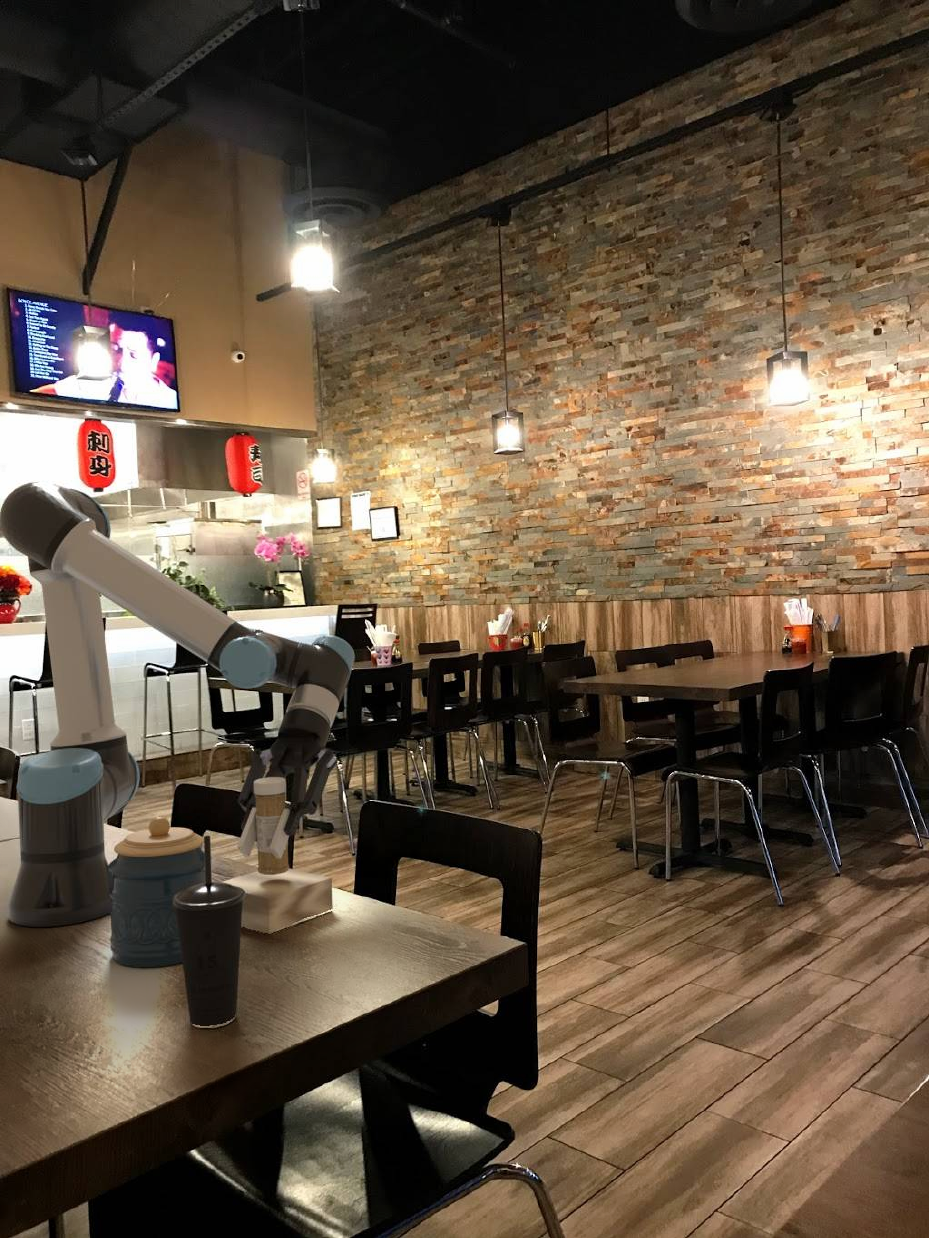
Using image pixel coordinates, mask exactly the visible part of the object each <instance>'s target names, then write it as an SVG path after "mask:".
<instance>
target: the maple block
mask: <svg viewBox="0 0 929 1238" xmlns="http://www.w3.org/2000/svg"><path fill="white" fill-rule="evenodd" d="M222 882H223V883H228V884H231V885H233V886H237V887H240V888H242V889H243V890H244V891H245V898H244V899H243V902H242V920H241V928H243V927H245V928H244V929H246V928H247V930H250V929H251V930H250V931H253V930H256V931H255V932H257V931H260V932H259V933H261V932H264V933H268V934H270V933H273V932H274V931H276V930H278V929H281V928H283V927H287V926H290V925H292V924H293V923H295V922H298V921H300V920H302V919H304V918H307V917H311V916H314V915H318V914H321V913H323V912H326V911H328V910H331V909H333V908H334V907H333V906H334V905H333V878H332V877H331V876H327V875H322V874H317V873H311V872H307V871H303V870H298V869H293V868H289V870H288V871H286V872H285V873H281V874H276V875H264V874H260V873H259V872H258V870H257V871H254V872H251V873H247V874H243V875H241V876H237V877H234V878H230V879H227V880H224V881H222ZM264 933H263V934H264ZM268 934H267V935H268ZM273 934H274V933H273Z"/></svg>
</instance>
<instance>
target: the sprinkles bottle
mask: <svg viewBox="0 0 929 1238" xmlns="http://www.w3.org/2000/svg"><path fill="white" fill-rule="evenodd" d="M286 780H287V779H286V778H285V779H284V778H281V777H268V778H264V777H263V778H261V779H257V780H255V781H254V793H255V797H256V830H257V838H256V850H257V863H258V864H257V866H258V867H257V871H258V872H259V873H260V874H264V875H276V874H281V873H285V872H286V871H288V870H289V869H290V865H289V852H288V851H289V850H288V846H289V841H287V844H286V847H285V849H284V852H283V855H282V858H281V859H276V857H275V856H274V854H273V853H272V852H271V850H270V849H269V848H270V845H271V842H272V840H273V837H274V834H275V831H276V829H277V826H278V823H279V820H280V818H281V815H282V812H283V810H284V809H287V807H286V806H287V805H286V802H287V801H286V792H287V782H286Z"/></svg>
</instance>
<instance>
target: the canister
mask: <svg viewBox="0 0 929 1238" xmlns="http://www.w3.org/2000/svg"><path fill="white" fill-rule="evenodd" d="M170 825H171V824H170V821H169V820H168V818H167V817H166V816H155V817H154V818H152V819H151V820H150V822H149V824H148V829H143V830H138V831H135V832H132V833H129V834H128V835H126V836H125V838H124V839H123V840H121V841H120V842H118V843H117V844H115V845H114V847H113V850H114V853H116V854H117V856H116V858H115V859H113V860H112V861H111V862H109V863H108V871H109V872H110V873H111V874H112V875H113V882H112V888H111V889H110V890H109V897H110V906H111V912H110V925H111V926H110V927H111V928H110V929H111V930H110V931H111V932H110V933H111V934H110V938H109V942H110V951H111V952H112V953H111V954H112V959H113V960H114V961H115V962H116V963H117V964H118V963H119V964H120V965H123V966H127V967H134V968H159V967H166V966H172V965H178V964H183V962H182V954H181V946H180V938H179V931H178V923H177V915H176V907H175V906H174V905H173V903H172V899H173V897H174V896H175V895H176V894H178V893H179V892H182V891H184V890H185V889H187V888H189V887H191V886H193V885H196V884H200V883H204V882H205V855H204V848H203V847H202V846H204V836H201V835H199V834H197V833H195V832H194V831H193V830H192V829H190V828H186V827H175V826H174V827H172V826H170ZM212 858H213V857H212V856H211V860H212Z"/></svg>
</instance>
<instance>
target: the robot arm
mask: <svg viewBox="0 0 929 1238" xmlns="http://www.w3.org/2000/svg"><path fill="white" fill-rule="evenodd" d="M0 530H1V532H2V535H3V536H4V538H5V539H6V541H7V542H8V543H9V545H10V546H11V547H12V548H14V550H15V551H17V552H19V553H20V554H23V555H24V556H26V557H27V560H28V570H29V575H30V577H32V578H34V580H36V581H38V583H40V585H41V591H42V592H41V593H42V597H43V598H42V599H43V608H44V616H45V624H46V625H45V627H46V633H47V642H48V649H49V651H48V652H49V656H50V657H49V658H50V659H49V660H50V667H51V674H52V675H51V676H52V682H53V690H54V691H53V692H54V699H55V700H54V701H55V709H56V715H57V716H56V717H57V724H58V733H57V735H56V736H55V737H54V738H53V740H52V741H51V742H50V750H49V751H47V752H41V753H38V754H35V755H33V756H30V757H28V758H26V759H25V760H24V761H23V762H22V763H21V764H20V766H19V768H18V774H17V776H18V777H17V779H18V780H17V783H16V792H17V799H18V800H17V802H18V803H17V804H18V806H17V807H18V826H19V828H18V829H19V849H20V850H19V851H20V854H19V855H20V867H19V870H18V873H17V876H16V880H15V882H14V886H13V888H12V892H11V895H10V899H9V902H8V903H9V904H8V913H9V914H8V918H9V921H10V922H12V923H13V924H15V925H18V926H22V927H23V926H24V927H32V928H33V927H34V928H36V927H37V928H40V927H41V928H45V927H46V928H47V927H60V926H68V925H73V924H79V923H83V922H87V921H91V920H94V919H98V918H101V917H103V916H106V915H108V914H111V906H110V897H109V890H110V889H111V888H112V882H113V875H112V874H111V873H110V872H109V871H108V865H109V863H108V860H107V857H106V853H105V851H106V850H105V847H106V846H105V825H104V823H105V821H106V820H107V819H109V818H112V817H113V816H116V815H118V814H119V813H120V812H122V811H123V810H124V809H125V808H126V807H127V806H128V804H129V803H130V802H131V801H132V800H133V798H134V797H135V795H136V793H137V791H138V788H139V784H140V769H139V765H138V762H137V760H136V758H135V756H134V755H133V754H132V753H131V752H130V751H129V748H128V747H129V746H128V740H127V733H126V731H125V730H123V729H122V728H120V727H119V726H118V725H117V724H116V720H115V712H114V703H113V696H112V695H113V694H112V688H111V679H110V670H109V660H108V654H107V653H108V652H107V646H106V645H107V644H106V637H105V635H106V634H105V627H104V620H103V619H104V618H103V612H102V611H103V609H102V602H101V596H103V597H104V598H106V599H108V600H109V601H111V602H112V603H114V604H116V605H117V606H119V607H121V608H122V609H124V610H125V611H127V612H128V613H130V614H131V615H133V616H134V617H136V618H137V619H139V620H141V621H142V622H144V624H147V625H148V626H150V627H151V628H153V629H154V630H156V631H158V632H159V633H160V634H162V635H163V636H165V637H167V638H169V639H170V640H172V641H174V643H176V644H178V645H180V646H181V647H183V648H184V649H186V650H187V651H189V652H191V653H192V654H193V655H195V656H196V657H198V658H199V659H201V660H203V661H204V662H206V663H207V664H208V665H211V666H212V667H213V668H215V669H216V670H218V671H219V672H220V673H221V674H222V676H223V677H224V679H225V680H226V681H227V682H228V683H229V684H231V685H232V686H234V687H237V688H241V689H253V688H254V689H255V688H256V689H257V688H260V687H261V686H263V685H265V684H266V683H267V682H270V683H273V684H277V685H281V686H285V687H287V688H290V689H294V691H293V693H292V696H291V698H290V700H289V702H288V706H287V708H286V710H285V714H284V716H283V718H282V721H281V722H280V726H279V728H278V732H277V739H276V740H275V742H273V744H272V745H271V746H270V748H269V749H268V748H267V749H265V750H262V751H261V749H260V748H254V749H253V750H252V762H251V765H250V768H249V770H248V773H247V776H246V778H245V780H244V784H243V786H242V788H241V791H240V794H239V796H238V799H237V802H238V804H239V805H240V806H241V808H242V810H243V811H244V812H245V814H244V816H243V819H242V822H241V825H240V829H241V830H242V833H241V836H240V839H239V840H238V843H237V849H238V850H239V851H240V853H241V854H242V855H243V857H245V858H249V857H250V856H251V853H252V851H253V848H254V846H255V843H256V842H257V830H256V797H255V793H254V781H255V780H257V779H261V778H268V777H281V778H284V779H285V780H286V778H287V776H288V775H289V774H293V779H292V787H291V795H290V802H288V803H287V804H288V807H289V808H290V809H289V808H286V809H284V810H283V812H282V815H281V818H280V820H279V823H278V826H277V829H276V831H275V834H274V837H273V840H272V842H271V845H270V848H269V849H270V850H271V852H272V853H273V854H274V856H275V857H276V859H281V858H282V855H283V852H284V849H285V847H286V844H287V841H288V840H289V837H290V836H291V837H293V836H295V834H296V832H297V829H298V827H299V823H300V821H301V818H302V817H303V816H305V815H310V816H312V815H314V814H316V812H317V810H318V807H319V804H320V801H321V798H322V796H323V794H324V790H325V787H326V786H327V785H326V784H327V783H328V780H329V777H330V774H331V772H332V771H333V770H334V768H335V767H336V765H337V763H338V760H337V758H336V756H335V755H334V752H333V751H332V750H330V749H327V750H326V751H325V750H324V749H325V747H326V744H327V742H328V738H329V736H330V734H331V728H332V726H333V724H334V721H335V718H336V716H337V713H338V710H339V706H340V703H341V701H342V699H343V696H344V693H345V690H346V688H347V685H348V684H349V680H350V677H351V674H352V670H353V665H354V662H355V659H356V658H355V652H354V649H353V647H352V646H351V644H350V643H348V642H347V641H346V640H344V639H343V638H341V637H338V636H336V635H332V634H331V635H328V636H326V635H321V636H319V637H317V638H316V639H315V640H313V642H312V643H311V644H308V643H303V642H300V641H295V640H292V639H289V638H287V637H283V636H280V635H276V634H273V633H269V632H266V631H264V630H261V629H256V628H255V629H254V628H250V627H247V626H244V625H243V624H242V623H241V624H240V623H239V622H237V621H236V620H235V619H233V618H231V616H229V615H227V614H226V613H224V612H223V611H221V610H220V609H218V608H216V607H215V606H213V605H211V604H210V603H209V602H207V601H206V600H205V599H202V598H201V597H199V596H198V595H196V594H195V593H193V592H192V591H190V590H189V589H187V588H186V587H184V586H182V585H181V584H179V583H178V582H176V581H175V580H174V579H172V578H170V577H169V576H167V575H165V573H162V572H161V571H160V570H158V569H156V568H155V567H153V566H152V565H150V564H149V563H148V562H146V561H144V560H143V559H141V558H140V557H138V556H136V555H135V554H133V553H132V552H130V551H128V550H127V549H125V548H124V547H122V546H121V545H119V544H118V543H116V542H115V541H114V540H112V539H111V522H110V519H109V516H108V514H107V512H106V510H105V508H104V507H103V506H102V505H101V504H100V503H99V501H97V500H96V499H95V498H93V497H92V496H90V495H89V494H86V492H83V491H81V490H77V489H76V488H75V489H74V488H69V487H68V488H67V487H64V486H60V485H57V484H54V483H50V482H47V481H34V482H33V481H31V482H28V483H25V484H22V485H20V486H18V487H16V488H15V489H14V490H12V491H11V492H10V493H9V494H8V495H7V496H6V498H5V499H4V500H3V503H2V505H1V508H0ZM271 759H272V760H271ZM270 760H271V762H270ZM315 764H316V766H315V768H314V771H313V773H312V776H311V778H310V772H311V768H312V767H313V766H314V765H315ZM268 766H269V767H268ZM267 767H268V771H267ZM266 771H267V772H266ZM308 780H310V782H309V784H308ZM288 842H289V841H288Z"/></svg>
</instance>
